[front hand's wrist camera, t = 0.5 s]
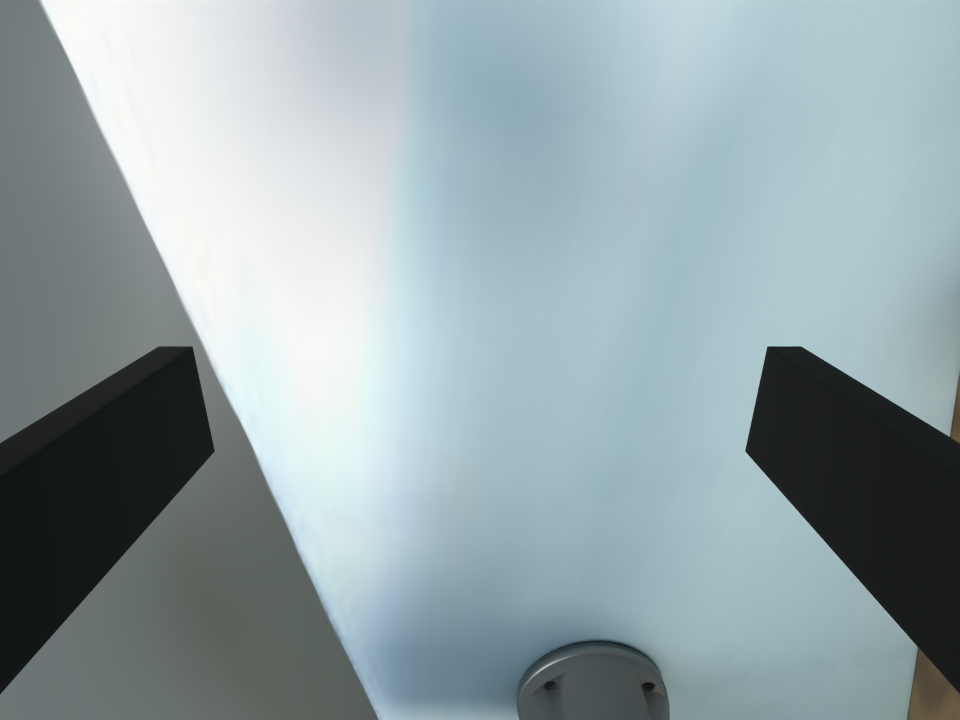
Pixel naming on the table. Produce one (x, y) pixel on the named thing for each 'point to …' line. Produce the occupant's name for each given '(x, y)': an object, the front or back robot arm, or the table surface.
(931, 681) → the post
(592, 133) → the table surface
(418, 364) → the table surface
